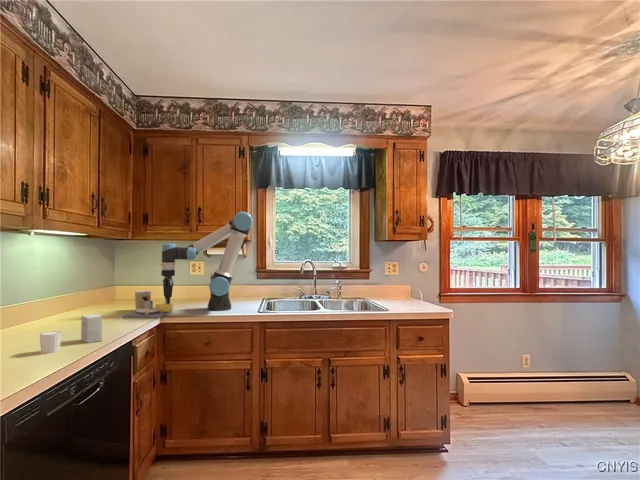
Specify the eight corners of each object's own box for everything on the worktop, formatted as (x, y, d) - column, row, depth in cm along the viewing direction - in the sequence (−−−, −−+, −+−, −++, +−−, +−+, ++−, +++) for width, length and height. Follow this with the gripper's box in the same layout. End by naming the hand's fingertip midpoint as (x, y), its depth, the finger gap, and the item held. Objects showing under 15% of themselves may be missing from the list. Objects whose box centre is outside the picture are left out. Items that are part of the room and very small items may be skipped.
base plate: (172, 312, 229) (172, 303, 229) (157, 318, 209) (158, 308, 209) (140, 311, 229) (140, 303, 229) (122, 318, 209) (122, 308, 209)
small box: (101, 341, 158) (102, 316, 158) (86, 343, 154) (87, 317, 154) (95, 337, 163) (95, 313, 163) (80, 340, 159) (81, 315, 159)
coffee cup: (144, 312, 229) (144, 292, 229) (131, 311, 231) (131, 291, 231) (154, 309, 238) (154, 290, 238) (141, 309, 240) (141, 290, 240)
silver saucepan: (133, 314, 211) (133, 302, 211) (139, 310, 224) (139, 299, 224) (169, 313, 215) (170, 302, 215) (174, 309, 228) (174, 299, 228)
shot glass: (38, 355, 137) (39, 336, 137) (39, 350, 142) (39, 332, 142) (61, 352, 141) (62, 333, 141) (61, 348, 146) (61, 330, 146)
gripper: (158, 268, 226) (157, 307, 226) (165, 270, 216) (164, 311, 216) (171, 268, 231) (170, 306, 231) (178, 269, 221) (177, 309, 221)
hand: (167, 308), depth 223 cm, fingers closed
